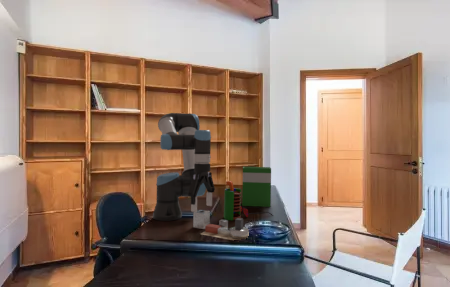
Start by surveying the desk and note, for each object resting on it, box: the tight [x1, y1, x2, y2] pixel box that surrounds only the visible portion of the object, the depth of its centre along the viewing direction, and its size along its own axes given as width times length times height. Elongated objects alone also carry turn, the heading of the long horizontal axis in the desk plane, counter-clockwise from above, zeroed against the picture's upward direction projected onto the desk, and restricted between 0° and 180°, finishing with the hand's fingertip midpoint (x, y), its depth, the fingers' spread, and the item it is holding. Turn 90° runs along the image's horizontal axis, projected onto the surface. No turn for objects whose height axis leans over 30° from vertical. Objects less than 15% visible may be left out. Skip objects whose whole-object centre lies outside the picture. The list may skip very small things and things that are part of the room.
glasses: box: [240, 205, 274, 218], centre depth 167 cm, size 14×16×5 cm
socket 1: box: [192, 209, 211, 230], centre depth 138 cm, size 6×6×8 cm
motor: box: [223, 180, 242, 221], centre depth 154 cm, size 10×9×20 cm
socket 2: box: [218, 219, 229, 228], centre depth 134 cm, size 4×4×4 cm
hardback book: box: [241, 166, 272, 208], centre depth 189 cm, size 18×7×24 cm, turn 85°
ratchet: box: [204, 217, 250, 240], centre depth 128 cm, size 20×8×7 cm, turn 63°
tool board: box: [200, 231, 238, 241], centre depth 128 cm, size 24×13×1 cm, turn 63°
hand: (201, 208), depth 138 cm, fingers open, 13 cm apart
